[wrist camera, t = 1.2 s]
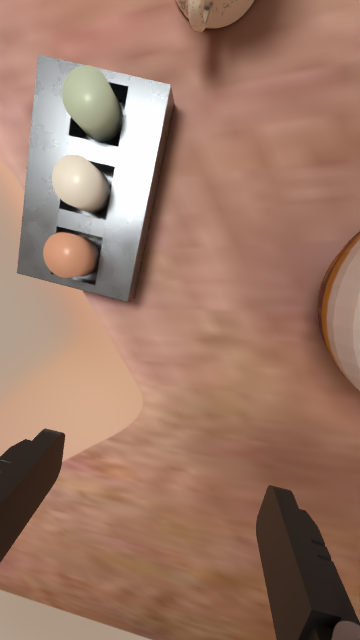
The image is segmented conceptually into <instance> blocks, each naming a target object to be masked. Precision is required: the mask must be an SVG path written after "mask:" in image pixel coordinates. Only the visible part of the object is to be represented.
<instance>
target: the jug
mask: <svg viewBox="0 0 360 640" xmlns="http://www.w3.org/2000/svg"><path fill="white" fill-rule="evenodd" d="M318 317H319V327H320V330H321V334H322V338H323V340H324V342H325V345H326V347H327V349H328V351H329V353H330V355H331V356H332V358H333V360H334V362H335V364H336V365H337V366H338V368H339V369H340V371H341V372H342V373H343V375H344V376H345V377H346V378H347V379H348V380H349V381H350V382H351V383H352V384H353V385H354V386H355V387H356V388H357V389H358V390H359V391H360V232H359V233H357V234H356V235H355V236H354V237H353V238H352V239H351V240H350V241H349V242H348V243H347V244H346V245H345V246H344V248H343V249H342V250H341V251H340V253H339V254H338V255H337V256H336V258H335V259H334V260H333V262H332V263H331V265H330V267H329V268H328V270H327V272H326V274H325V276H324V279H323V281H322V283H321V287H320V291H319V296H318Z"/></svg>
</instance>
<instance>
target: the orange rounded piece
mask: <svg viewBox="0 0 360 640" xmlns="http://www.w3.org/2000/svg"><path fill="white" fill-rule="evenodd" d="M43 256H44V261H45V263H46V265H47V267H48V268H49V270H50V271H51V272H53V273H54V274H55V275H57V276H59V277H63V278H70V277H80V276H87V275H90V274H91V273H93V272H94V271H95V270H96V268H97V267H98V264H99V259H100V258H99V251H98V249H97V247H96V245H95V244H94V243H93V242H92V241H91V240H90V239H88V238H86V237H83V236H79V235H74V234H70V233H65V232H60V233H56V234H54V235H52V236H51V237H49V239H48V240H47V241H46V243H45V245H44V250H43Z"/></svg>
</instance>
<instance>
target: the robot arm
mask: <svg viewBox="0 0 360 640" xmlns="http://www.w3.org/2000/svg"><path fill="white" fill-rule="evenodd" d="M64 441H65V434H64V433H61V432H57V431H53V430H49V429H43V430H42V431H41V432H40V433H39V434H38V435H37V436H36V437H35V438H34V439H33V440H32V441H30V440H26V439H25V440H23V441H21V442H19V443H18V444H16V445H14V446H12V447H10V448H9V449H8V450H7V451H6V452H5V453H4V454H3V455H2V456H0V562H1V561H2V559H3V558H4V556H5V555H6V554H7V552H8V551H9V549H10V548H11V546H12V545H13V543H14V542H15V540H16V539H17V537H18V536H19V535H20V533H21V532H22V530H23V529H24V527H25V526H26V524H27V523H28V521H29V520H30V518H31V517H32V515H33V514H34V513H35V511H36V510H37V508H38V507H39V505H40V504H41V502H42V501H43V499H44V498H45V496H46V495H47V494H48V492H49V491H50V489H51V488H52V486H53V485H54V483H55V481H56V479H57V477H58V475H59V472H60V469H61V465H62V457H63V449H64ZM256 535H257V541H258V547H259V552H260V557H261V562H262V567H263V572H264V577H265V582H266V587H267V592H268V597H269V603H270V608H271V613H272V618H273V623H274V628H275V633H276V638H277V640H360V622H359V620H358V618H357V616H356V613H355V611H354V609H353V606H352V604H351V602H350V600H349V597H348V595H347V593H346V590H345V588H344V586H343V584H342V581H341V579H340V577H339V574H338V572H337V570H336V568H335V565H334V563H333V562H332V561H331V556H330V554H329V552H328V549H327V547H325V542H324V540H323V538H322V536H321V533H320V531H319V529H318V526H317V525H316V524H315V522H314V521H313V520H312V519H311V517H310V516H309V515H308V513H307V512H306V511H305V510H301V509H299V508H298V505H297V503H296V500H295V498H294V495H293V493H292V492H291V491H290V490H287V489H283V488H279V487H275V486H271V485H270V486H269V487H268V488H267V491H266V494H265V496H264V499H263V502H262V505H261V508H260V511H259V514H258V517H257V522H256Z"/></svg>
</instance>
